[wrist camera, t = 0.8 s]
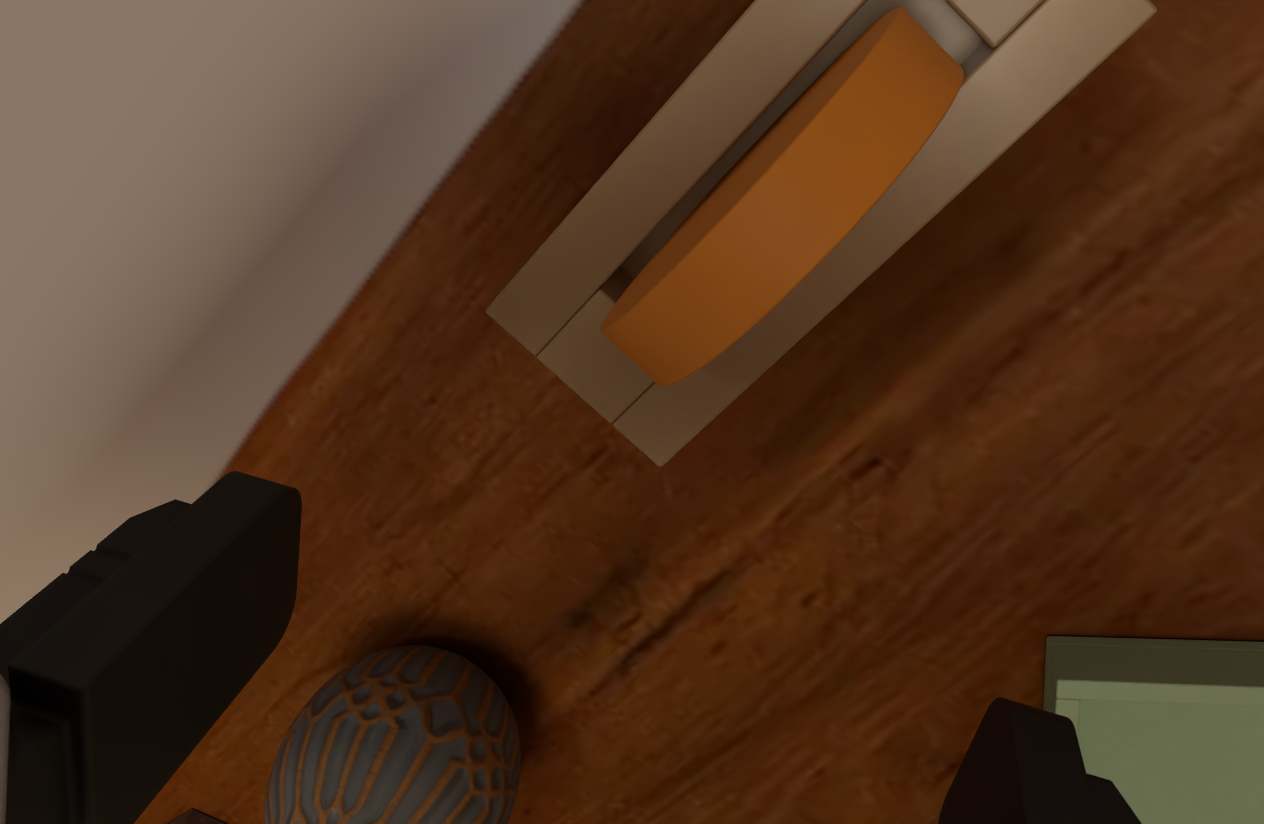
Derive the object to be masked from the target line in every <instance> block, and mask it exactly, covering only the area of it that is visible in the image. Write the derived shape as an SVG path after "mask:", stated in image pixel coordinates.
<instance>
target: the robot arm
mask: <svg viewBox="0 0 1264 824" xmlns="http://www.w3.org/2000/svg"><path fill="white" fill-rule="evenodd" d="M301 510H302V502H301V496H300V493H299V491H298V490H297V489H295V488H292V487H289V486H285V485H282V484H278V483H275V482H271V481H268V480H265V479H261V478H258V477H254V476H251V475H248V474H244V473H241V472H237V471H233V472H230V473H228V474H226V475H225V476H224V477H222V478H221V479H220V480H219V481H218V482H217V483H216V484H214V485H213V486H212V487H211V488H210V489H209V490H208V491H206V492H205V493H204V494H203V495H202V496H201V497H200V498H198V499H197V500H196V501H195V502H194V503H193V504H189V503H185V502H182V501H179V500H173V501H170V502H168V503H165V504H163V505H160V506H158V507H155V508H153V509H151V510H148V511H146V512H143V513H141V514H138V515H136V516H133V517H131V518H129V519H128V520H127V521H125V522H124V523H123V524H122V525H121V526H119V527H118V528H117V529H116V530H114V531H113V532H112V533H111V534H110V535H108V536H107V537H106V538H105V539H104V540H102V541H101V542H100V543H99V544H98V545H97V548H96V550H95V551H91V550H90V551H89V552H88V553H86V554H85V555H84V556H83V557H82V558H80V559H79V560H78V561H77V562H75V563H74V564H73V565H72V566H71V567H70V570H69V572H68V573H67V574H65V573H62V574H61V575H60V576H58V577H57V578H56V579H55V580H53V581H52V582H51V583H50V584H49V585H48V586H46V587H45V588H44V589H43V590H41V591H40V592H39V593H38V594H36V595H35V596H34V597H33V598H32V599H30V600H29V601H28V602H27V603H25V604H24V605H23V606H22V607H21V608H19V609H18V610H17V611H16V612H15V613H13V614H12V615H11V616H10V617H8V618H7V619H6V620H5V621H3V622H2V623H1V624H0V824H134V822H135V821H136V820H137V819H138V817H139V816H140V815H141V814H142V812H143V811H144V810H145V809H146V807H147V806H148V805H149V804H150V803H151V801H152V800H153V799H154V798H155V796H156V795H157V794H158V793H159V791H160V790H161V789H162V788H163V786H164V785H165V784H166V783H167V781H168V780H169V779H170V778H171V777H172V775H173V774H174V773H175V772H176V770H177V769H178V768H179V767H180V765H181V764H182V763H183V762H184V760H185V759H186V758H187V757H188V756H189V754H190V753H191V752H192V751H193V749H194V748H195V747H196V746H197V744H198V743H199V742H200V741H201V739H202V738H203V737H204V736H205V734H206V733H207V732H208V731H209V730H210V728H211V727H212V726H213V725H214V723H215V722H216V721H217V720H218V718H219V717H220V716H221V715H222V713H223V712H224V711H225V710H226V709H227V707H228V706H229V705H230V704H231V702H232V701H233V700H234V699H235V697H236V696H237V695H238V694H239V692H240V691H241V690H242V689H243V687H244V686H245V685H246V684H247V683H248V681H249V680H250V679H251V678H252V676H253V675H254V674H255V673H256V671H257V670H258V669H259V668H260V666H261V665H262V664H263V663H264V662H265V660H266V659H267V658H268V657H269V655H270V654H271V653H272V652H273V650H274V649H275V648H276V646H277V645H278V643H279V642H280V640H281V638H282V636H283V635H284V633H285V630H286V628H287V626H288V623H289V621H290V618H291V615H292V612H293V608H294V604H295V599H296V590H297V574H298V558H299V542H300V526H301ZM938 824H1142V823H1141V822H1140V820H1139V819H1138V817H1137V816H1136V815H1135V813H1134V812H1133V810H1132V809H1131V807H1130V806H1129V805H1128V803H1127V802H1126V800H1125V799H1124V798H1123V796H1122V795H1121V793H1120V792H1119V790H1118V789H1117V788H1116V786H1115V785H1114V783H1113V782H1112V781H1111V780H1108V779H1104V778H1101V777H1098V776H1094V775H1091V774H1087V773H1086V770H1085V766H1084V762H1083V758H1082V754H1081V750H1080V746H1079V742H1078V738H1077V734H1076V730H1075V727H1074V724H1073V722H1072V720H1070V719H1069V718H1068V717H1065V716H1062V715H1058V714H1055V713H1051V712H1048V711H1045V710H1041V709H1038V708H1034V707H1031V706H1028V705H1024V704H1021V703H1017V702H1014V701H1011V700H1007V699H1004V698H996V699H995V700H994V701H993V702H992V703H991V704H990V706H989V707H988V709H987V711H986V713H985V715H984V717H983V719H982V721H981V724H980V726H979V728H978V730H977V732H976V734H975V736H974V738H973V740H972V742H971V745H970V747H969V749H968V751H967V753H966V755H965V757H964V759H963V761H962V763H961V766H960V768H959V770H958V772H957V774H956V776H955V778H954V780H953V782H952V784H951V787H950V789H949V791H948V793H947V795H946V798H945V800H944V803H943V806H942V810H941V814H940V818H939V823H938Z"/></svg>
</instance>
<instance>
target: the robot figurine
mask: <svg viewBox="0 0 1264 824" xmlns="http://www.w3.org/2000/svg"><path fill="white" fill-rule="evenodd" d="M169 824H225V823H223V822H220V821H218V820H216V819H214V818H211V817H209V816H207V815H205V814H202V813H200V812H198V811H196V810H193V809H191V810H190V811H188V812H186V813H185V814H183V815H182V816H180V817H178V818H177V819H175V820H173V821H172V822H170V823H169Z"/></svg>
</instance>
